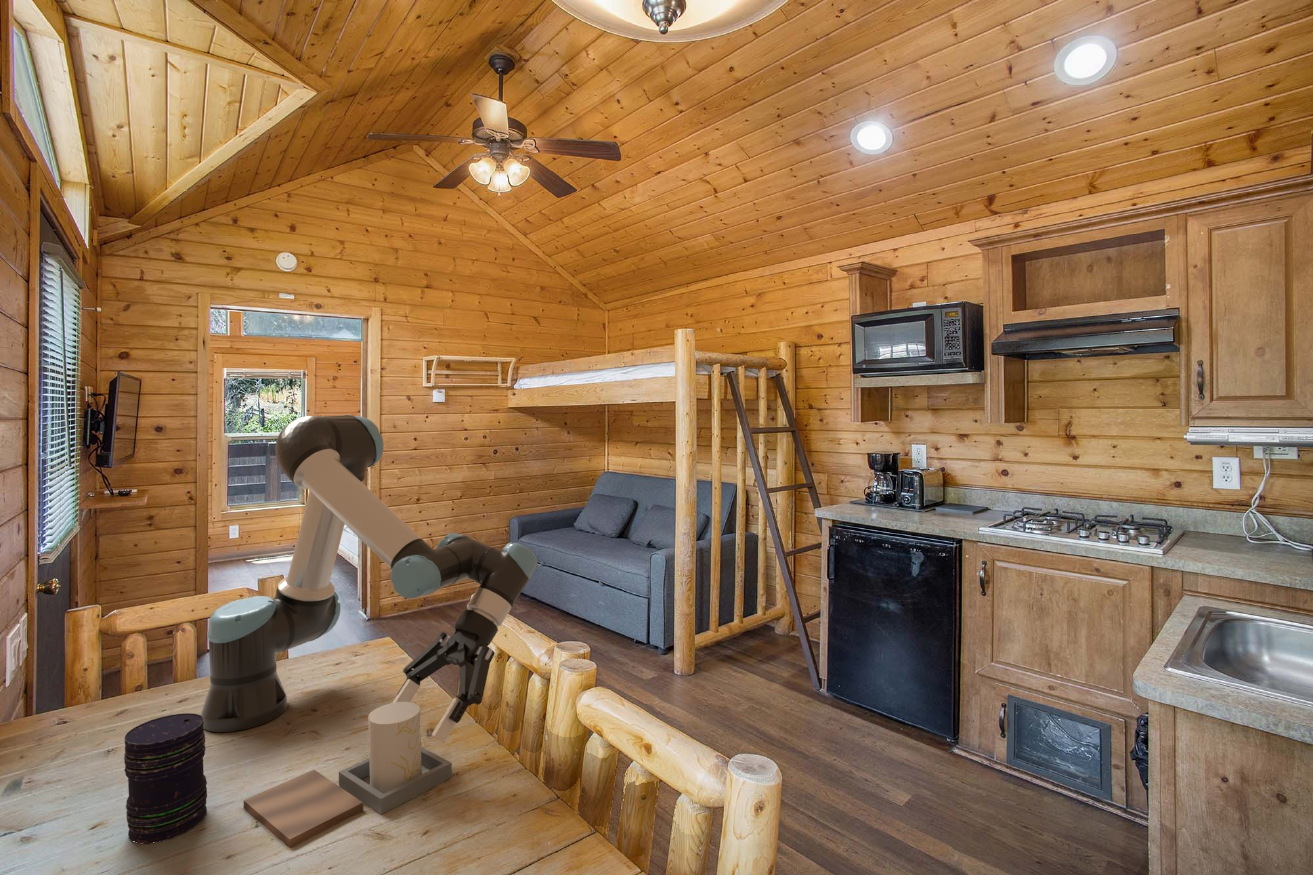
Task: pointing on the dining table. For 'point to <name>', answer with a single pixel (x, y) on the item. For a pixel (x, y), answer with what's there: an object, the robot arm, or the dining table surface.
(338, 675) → the dining table surface
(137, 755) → the dark purple cylinder
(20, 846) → the dining table surface
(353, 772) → the square collar
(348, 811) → the walnut board
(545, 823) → the dining table surface
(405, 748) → the cup
